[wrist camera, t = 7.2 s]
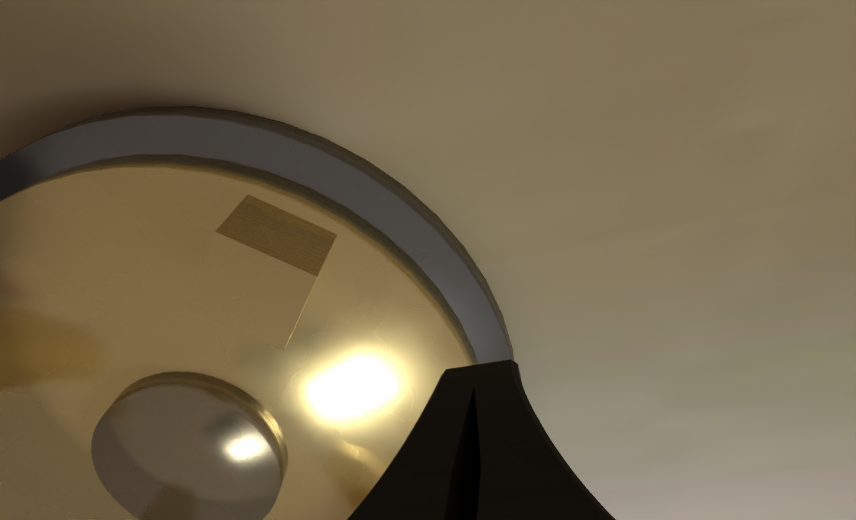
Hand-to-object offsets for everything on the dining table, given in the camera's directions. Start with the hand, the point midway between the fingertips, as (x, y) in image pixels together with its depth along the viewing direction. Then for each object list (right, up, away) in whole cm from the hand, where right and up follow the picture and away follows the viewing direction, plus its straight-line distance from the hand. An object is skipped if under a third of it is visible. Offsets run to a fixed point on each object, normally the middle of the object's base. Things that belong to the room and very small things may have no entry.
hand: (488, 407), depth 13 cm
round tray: (-9, -3, +11) cm, 14 cm away
